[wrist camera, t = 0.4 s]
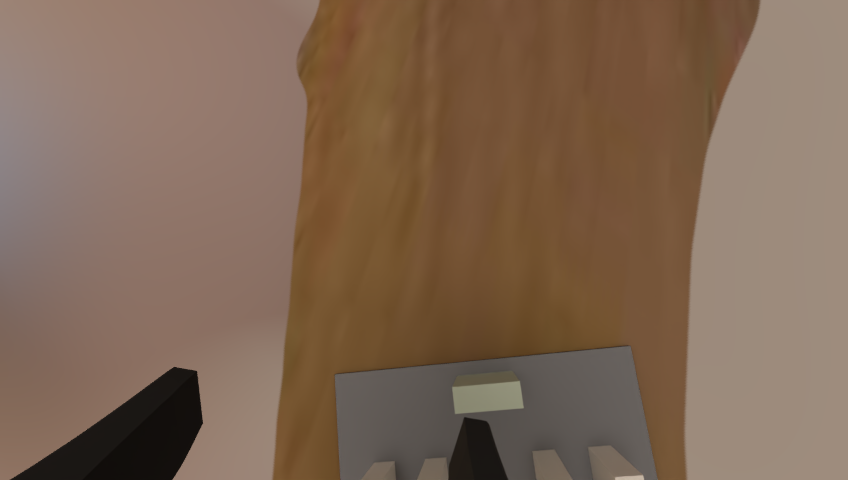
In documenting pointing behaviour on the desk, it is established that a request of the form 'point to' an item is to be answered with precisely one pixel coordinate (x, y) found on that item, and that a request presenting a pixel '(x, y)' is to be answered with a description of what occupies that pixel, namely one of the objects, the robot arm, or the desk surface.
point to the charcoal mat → (496, 414)
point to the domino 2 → (434, 469)
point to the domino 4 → (611, 465)
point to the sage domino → (487, 392)
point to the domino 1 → (381, 471)
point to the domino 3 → (549, 466)
